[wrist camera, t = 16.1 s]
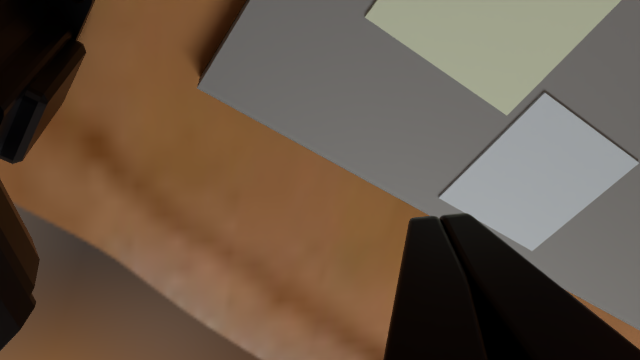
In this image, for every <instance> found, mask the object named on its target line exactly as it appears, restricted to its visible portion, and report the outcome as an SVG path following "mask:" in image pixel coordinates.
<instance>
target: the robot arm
mask: <svg viewBox="0 0 640 360" xmlns="http://www.w3.org/2000/svg"><path fill="white" fill-rule="evenodd" d="M94 2H95V0H0V159H2V160H4V161H7V162H9V163H12V164H14V163H17V162H21V161H23V159H24V158H25V156H26V155H27V154H28V152H29V151H30V149H31V148H32V146H33V145H34V144H35V142H36V141H37V139H38V138H39V136H40V135H41V134H42V132H43V131H44V129H45V128H46V126H47V125H48V124H49V122H50V121H51V119H52V118H53V116H54V115H55V114H56V112H57V111H58V109H59V108H60V106H61V105H62V103H63V102H64V99H65V97H66V95H67V93H68V91H69V89H70V86H71V84H72V82H73V80H74V78H75V76H76V73H77V71H78V69H79V67H80V65H81V63H82V60H83V58H84V56H85V54H86V50H85V48H84V45H83V44H82V43H80V42H79V41H77V40H78V38H79V35H80V33H81V31H82V29H83V26H84V24H85V22H86V20H87V17H88V15H89V13H90V11H91V9H92V6H93V4H94ZM39 260H40V259H39V257H38V254H37V251H36V248H35V246H34V243H33V240H32V238H31V236H30V234H29V232H28V230H27V228H26V227H25V225H24V223H23V221H22V219H21V217H20V215H19V214H18V212H17V210H16V208H15V206H14V204H13V202H12V200H11V198H10V196H9V195H8V193H7V191H6V189H5V187H4V185H3V183H2V181H1V180H0V351H1V350H2V349H3V347H5V345H6V344H7V343H8V342H9V341H10V340H11V339H12V338H13V337H14V336H15V335H16V334H17V333H18V332H19V330H20V329H21V328H22V326H23V325H24V323H25V322H26V320H27V318H28V317H29V315H30V314H31V312H32V311H33V309H34V307H35V304H36V300H35V299H34V296H33V295H32V291H33V289H34V286H35V281H36V276H37V270H38V265H39ZM383 360H640V350H639V349H638V348H637V347H636V346H634V345H633V344H632V343H631V342H629V341H628V340H627V339H626V338H624V337H623V336H622V335H621V334H619V333H618V332H617V331H616V330H614V329H613V328H612V327H611V326H609V325H608V324H607V323H606V322H604V321H603V320H602V319H601V318H599V317H598V316H597V315H596V314H594V313H593V312H592V311H591V310H589V309H588V308H587V307H586V306H584V305H583V304H582V303H581V302H579V301H578V300H577V299H576V298H574V297H573V296H572V295H571V294H569V293H568V292H567V291H566V290H564V289H563V288H562V287H561V286H559V285H558V284H557V283H556V282H554V281H553V280H552V279H551V278H549V277H548V276H547V275H546V274H544V273H543V272H542V271H541V270H539V269H538V268H537V267H536V266H534V265H533V264H532V263H531V262H529V261H528V260H527V259H526V258H524V257H523V256H522V255H521V254H519V253H518V252H517V251H516V250H514V249H513V248H512V247H511V246H509V245H508V244H507V243H506V242H504V241H503V240H502V239H501V238H499V237H498V236H497V235H496V234H494V233H493V232H492V231H491V230H489V229H488V228H487V227H486V226H484V225H483V224H482V223H481V222H479V221H478V220H477V219H476V218H474V217H473V216H472V215H470V214H468V213H458V214H448V215H442V216H441V217H440V218H438V217H436V216H426V217H415V218H412V219H410V221H409V225H408V230H407V235H406V241H405V246H404V251H403V257H402V262H401V268H400V273H399V278H398V284H397V289H396V295H395V300H394V305H393V311H392V316H391V322H390V327H389V332H388V338H387V343H386V348H385V354H384V359H383Z"/></svg>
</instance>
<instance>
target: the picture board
mask: <svg viewBox="0 0 640 360" xmlns="http://www.w3.org/2000/svg"><path fill="white" fill-rule="evenodd" d="M197 88H198V89H200V90H201V91H203V92H205V93H207V94H209V95H211V96H212V97H214V98H216V99H218V100H220V101H222V102H223V103H225V104H227V105H229V106H231V107H233V108H234V109H236V110H238V111H240V112H242V113H243V114H245V115H247V116H249V117H251V118H253V119H254V120H256V121H258V122H260V123H262V124H264V125H265V126H267V127H269V128H271V129H273V130H275V131H276V132H278V133H280V134H282V135H284V136H286V137H287V138H289V139H291V140H293V141H295V142H296V143H298V144H300V145H302V146H304V147H306V148H307V149H309V150H311V151H313V152H315V153H317V154H318V155H320V156H322V157H324V158H326V159H328V160H329V161H331V162H333V163H335V164H337V165H339V166H340V167H342V168H344V169H346V170H348V171H349V172H351V173H353V174H355V175H357V176H359V177H360V178H362V179H364V180H366V181H368V182H370V183H371V184H373V185H375V186H377V187H379V188H381V189H382V190H384V191H386V192H388V193H390V194H392V195H393V196H395V197H397V198H399V199H401V200H402V201H404V202H406V203H408V204H410V205H412V206H413V207H415V208H417V209H419V210H421V211H423V212H424V213H426V214H428V215H430V216H436V217H438V218H440V217H441V216H442V215H448V214H458V213H468V214H470V215H472V216H473V217H474V218H476V219H477V220H478V221H479V222H481V223H482V224H483V225H484V226H486V227H487V228H488V229H489V230H491V231H492V232H493V233H494V234H496V235H497V236H498V237H499V238H501V239H502V240H503V241H504V242H506V243H507V244H508V245H509V246H511V247H512V248H513V249H514V250H516V251H517V252H518V253H519V254H521V255H522V256H523V257H524V258H526V259H527V260H528V261H529V262H531V263H532V264H533V265H534V266H536V267H537V268H538V269H539V270H541V271H542V272H543V273H544V274H546V275H547V276H548V277H549V278H551V279H552V280H553V281H554V282H556V283H557V284H558V285H559V286H561V287H562V288H563V289H565V290H567V291H569V292H571V293H572V294H574V295H576V296H578V297H580V298H582V299H583V300H585V301H587V302H589V303H591V304H593V305H594V306H596V307H598V308H600V309H602V310H603V311H605V312H607V313H609V314H611V315H613V316H614V317H616V318H618V319H620V320H622V321H624V322H625V323H627V324H629V325H631V326H633V327H635V328H636V329H638V330H640V0H247V1H246V3H245V4H244V6H243V8H242V9H241V11H240V13H239V14H238V16H237V18H236V19H235V21H234V22H233V24H232V26H231V27H230V29H229V31H228V32H227V34H226V36H225V37H224V39H223V41H222V42H221V44H220V46H219V47H218V49H217V51H216V52H215V54H214V56H213V57H212V59H211V61H210V62H209V64H208V66H207V67H206V69H205V71H204V72H203V74H202V75H201V77H200V79H199V83H198V86H197Z"/></svg>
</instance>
